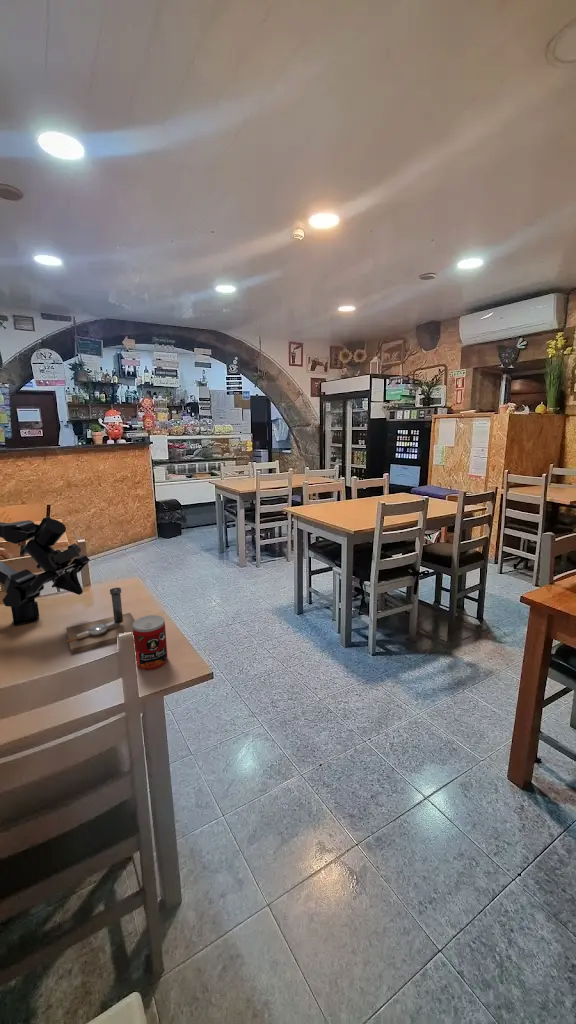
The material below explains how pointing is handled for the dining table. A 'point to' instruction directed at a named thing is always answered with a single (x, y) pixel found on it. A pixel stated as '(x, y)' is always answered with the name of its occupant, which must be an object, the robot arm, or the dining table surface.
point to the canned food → (150, 642)
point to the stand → (100, 640)
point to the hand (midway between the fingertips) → (81, 593)
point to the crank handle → (118, 619)
